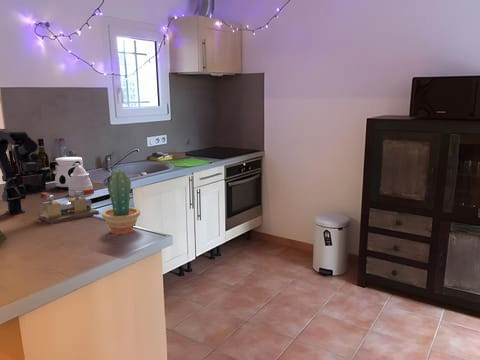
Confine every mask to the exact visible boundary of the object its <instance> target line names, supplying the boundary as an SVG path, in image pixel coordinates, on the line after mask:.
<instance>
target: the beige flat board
mask: <svg viewBox="0 0 480 360" xmlns="http://www.w3.org/2000/svg"><path fill="white" fill-rule="evenodd" d="M99 214H100V211H99V210H97V209H94V208H92V207H91V210H87V211H85V212H80V213H73V212H70V211H68V214H66V215H62V214H61V216H60V217H55V218H50V219H48V218H46V217H43V213H42V214H38V217H39V219H41V220H43V221H44V222H47V223H50V224H51V225H54V224H58V223H63V222H67V220H68V221H72V219H73V220H76V219H82V218H86V217H90V216H91V217H92V216H96V215H99Z"/></svg>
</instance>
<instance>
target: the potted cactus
mask: <svg viewBox="0 0 480 360" xmlns="http://www.w3.org/2000/svg"><path fill="white" fill-rule="evenodd" d="M103 178H104V179H103V180H102V186H103V189H106V188H107V191H108V194H109V196H110V197H111V200H112V202H111V207H112V208H107V209H106V210H103V211H101V217H102V219H104V221H105V223H106V225H107V226H108V228H110V229H111V230H110V232H111V233H112V234H116V235H123V234H124V233H125V234H128V233H132V231H134V226H135V225H136V223H137V221H138V218H139V216H140V215H141V209H139V208H136V207H130V201H129V196H130V194H131V188H132V181H131V179H130V177H129V176H128V174H127V173H126V171H124V170H123V169H122V170H112V172H110V173H108V174H106V175H105V177H103ZM111 200H110V201H111Z"/></svg>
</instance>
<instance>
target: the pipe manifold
mask: <svg viewBox="0 0 480 360" xmlns="http://www.w3.org/2000/svg"><path fill="white" fill-rule="evenodd" d="M92 188H93V187H92ZM92 188H91V189H85V190H81V191H74V196H75V197H71V198H70V197H69V198H68V202H65V203H61V202H58V201H55V200H52V201H48V202H43V203H42V202H41V209H42V210H41V211H42V214H43V217H46V218H48V219H50V218H55V217H60V216H61V214H62V215H66V214H68V211H70V212H73V213H80V212H85V211H87V210H91V208H92V200H91V199H90V198H87V199H86V198H84V197H79V196H80V195H89V194H92V195H94V194H95V189H94V188H93V189H92ZM89 196H90V195H89Z"/></svg>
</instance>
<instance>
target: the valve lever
mask: <svg viewBox="0 0 480 360" xmlns="http://www.w3.org/2000/svg"><path fill="white" fill-rule="evenodd" d="M39 195H40V198H41V199H44V200H47V201H48V202H49V201H52V200H53V201H55V196H54V194H50V193H49V192H44V191H43V192H40V194H39Z"/></svg>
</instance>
